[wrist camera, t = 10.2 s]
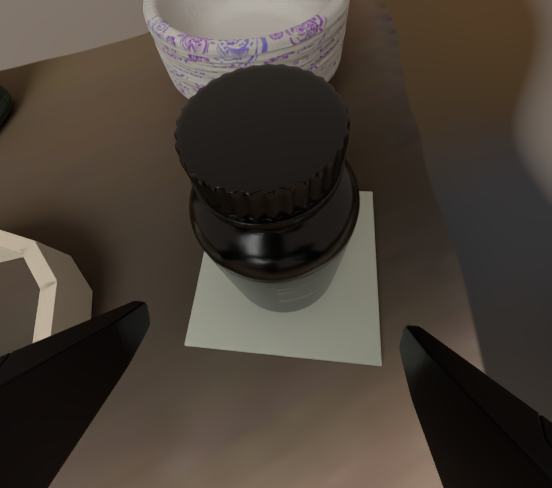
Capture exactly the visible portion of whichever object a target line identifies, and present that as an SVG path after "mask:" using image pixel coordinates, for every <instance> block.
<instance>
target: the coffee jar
mask: <svg viewBox="0 0 552 488" xmlns="http://www.w3.org/2000/svg"><path fill="white" fill-rule="evenodd" d="M11 108H12V99H11V96H10V94H9V93H8V92H7V91H6V90H5V89H4V88H3V87H2V86H1V85H0V125H1V124H2V122H3V121H4V119H5V118H6V117H7V115H8V113H9V112H10V110H11Z"/></svg>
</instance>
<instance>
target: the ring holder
mask: <svg viewBox="0 0 552 488" xmlns="http://www.w3.org/2000/svg"><path fill="white" fill-rule="evenodd" d="M22 257H24V259H25V261H26V262H27V264H28V266H29V268H30V270H31V272H32V274H33V276H34V278H35V280H36V282H37V283H38V285H39V287H40V295H39V302H38V309H37V316H36V323H35V330H34V337H33V343H35V342H37V341H39V340H42V339H44V338H47V337H49V336H51V335H54V334H56V333H59V332H61V331H63V330H66V329H68V328H71V327H73V326H75V325H78V324H80V323H82V322H85V321H87V320H90V319H91V309H92V292H93V291H92V290H91V288H90V286H89V285H88V283H87V282H86V280H85V278H84V277H83V275H82V273H81V272H80V270H79V268H78V267H77V265H76V264H75V262H74V260H73V259H72V257H71V256H70V255H67V254H65V253H63V252H60V251H58V250H56V249H53V248H51V247H49V246H46V245H44V244H42V243H39V242H37V241H34V240H31V239H27V238H24V237H21V236H18V235H15V234H12V233H9V232H5V231H2V230H0V262H4V261H9V260H13V259H17V258H22Z"/></svg>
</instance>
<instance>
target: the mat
mask: <svg viewBox="0 0 552 488" xmlns="http://www.w3.org/2000/svg"><path fill="white" fill-rule="evenodd" d="M359 194H360V209H359V215H358V219H357V223H356V226H355V229H354V232H353V234H352V237H351V239H350V241H349V244H348V246H347V248H346V250H345V253H344V255H343V257H342V260H341V262H340V264H339V266H338V269H337V271H336V273H335V276H334V278H333V280H332V282H331V284H330V286H329V287H328V289H327V291H326V292H325V293H324V294H323V295H322V296H321V297H320V298H319V299H318V300H317V301H316V302H315V303H313V304H312V305H310V306H308V307H306V308H304V309H301V310H298V311H294V312H286V313H280V312H273V311H269V310H266V309H263V308H261V307H259V306H257V305H256V304H254V303H253V302H251V301H250V300H249V299H248V298H247V297H246V296H245V295H244V294H243V293H242V292H241V291H240V290H239V289H238V288H237V287H236V286H235V284H234V283H233V282H232V281H231V280H230V279H229V278H228V277H227V276H226V275H225V274H224V272H223V271H222V270H221V269H220V268H219V267H218V266H217V265H216V264H215V263H214V262H213V260H212V259H211V258H210V257H209V256H208V255H207V253H206V252H205V251H204V256H203V260H202V265H201V270H200V274H199V279H198V284H197V288H196V293H195V298H194V302H193V307H192V312H191V317H190V321H189V326H188V331H187V335H186V340H185V345H184V346H193V347H202V348H212V349H221V350H231V351H240V352H250V353H259V354H269V355H278V356H288V357H298V358H307V359H317V360H326V361H336V362H345V363H355V364H364V365H374V366H382V362H381V343H380V325H379V306H378V287H377V269H376V250H375V231H374V213H373V194H372V192H367V191H359Z"/></svg>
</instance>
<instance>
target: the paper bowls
mask: <svg viewBox="0 0 552 488" xmlns="http://www.w3.org/2000/svg"><path fill="white" fill-rule="evenodd" d="M349 2H350V0H144V2H143V12H144V17H145V21H146V25H147V27H148V29H149V31H150V33H151V34H152V37H153V39H154V41H155V44H156V47H157V49H158V52H159V54H160V56H161V59H162V61H163V63H164V65H165V67H166V69H167V71H168V73H169V75H170V77H171V79H172V81H173V83H174V85H175V86H176V87H177V89H178V90H179V91H180V92H181V93H182V94H183V95H184V96H185V97H186V98H188V99H189V98H191V97H192V96H194V95H195V94H196V93H197V91H198V90H199V89H200V88H202V87H204V86H206V85H207V84H208V83H209V82H210V81H211V80H213V79H216V78H219V77H220V76H221V75H223V74H224V73H229V72H232V71H234V70H236V69H238V68H246V67H249V66H252V65H264V64H273V65H278V64H285V65H288V66H298V67H300V68H301V69H303V70H309V71H312V72H313V73H314V74H315V75H318V76H321V77H323V78H324V79H325V81H326V82H328V81H329V80H330V79H331V78H332V77H333V75H334V74H335V72H336V70H337V68H338V65H339V62H340V59H341V52H342V48H343V40H344V35H345V32H346V20H347V16H348V9H349Z"/></svg>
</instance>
